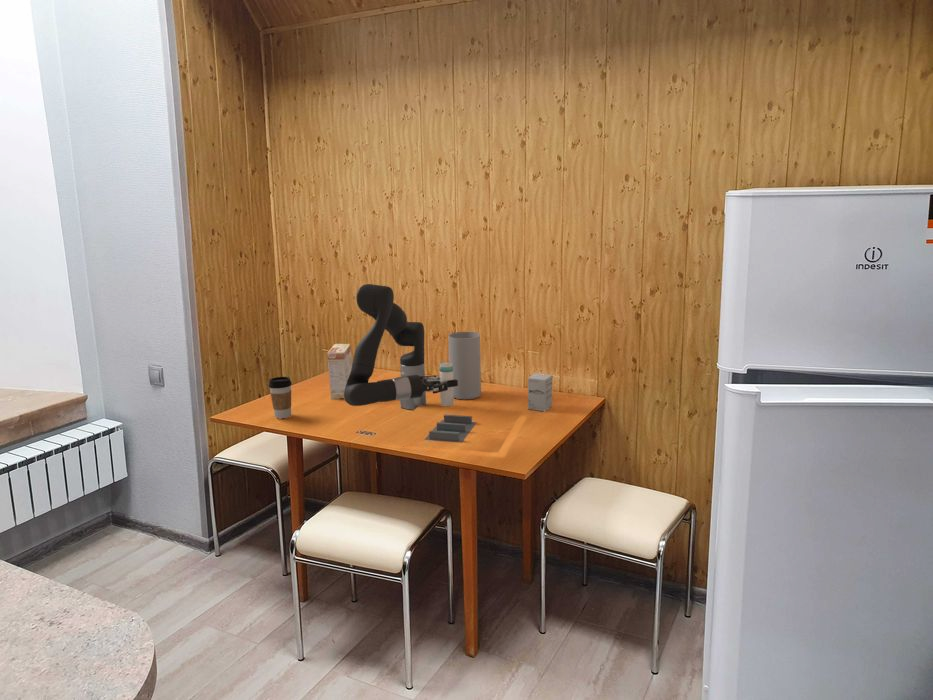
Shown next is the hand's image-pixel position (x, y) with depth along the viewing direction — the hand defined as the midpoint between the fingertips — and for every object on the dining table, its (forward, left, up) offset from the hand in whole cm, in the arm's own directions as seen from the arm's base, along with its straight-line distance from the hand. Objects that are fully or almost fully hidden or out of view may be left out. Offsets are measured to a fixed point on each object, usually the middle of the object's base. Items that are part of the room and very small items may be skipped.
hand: (454, 380), depth 243 cm
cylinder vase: (-9, +46, -20) cm, 51 cm away
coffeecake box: (-60, +39, -20) cm, 74 cm away
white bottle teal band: (-2, -2, -8) cm, 8 cm away
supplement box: (+23, +36, -20) cm, 47 cm away
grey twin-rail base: (-2, +2, -20) cm, 20 cm away
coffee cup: (-70, +8, -20) cm, 73 cm away
